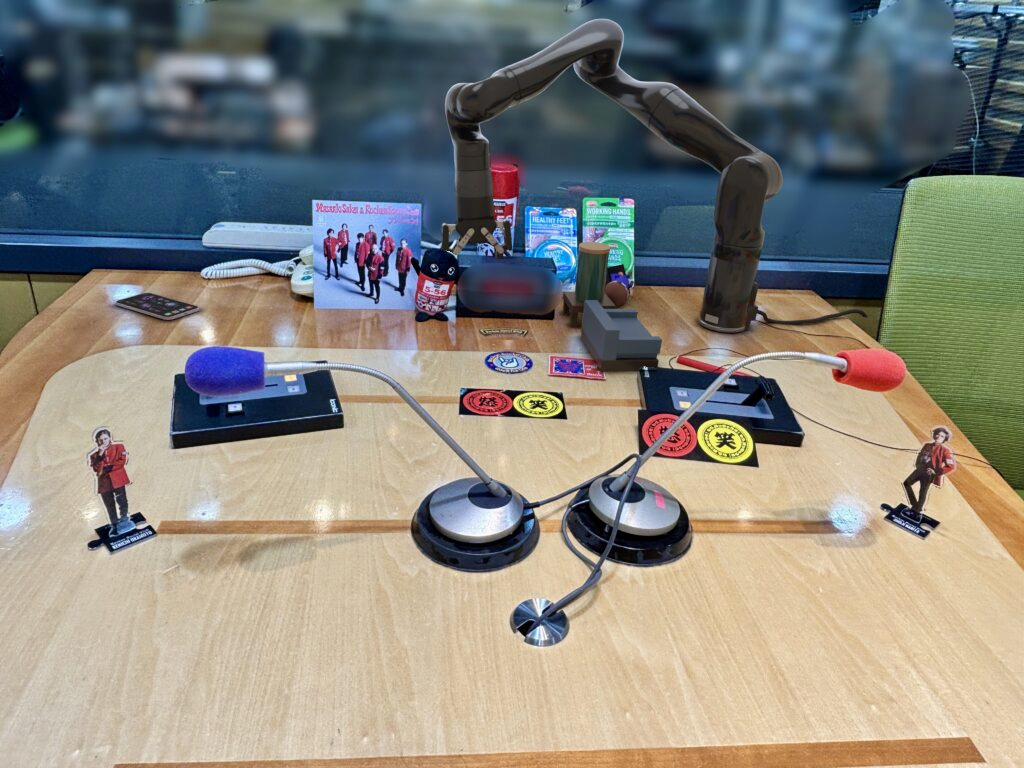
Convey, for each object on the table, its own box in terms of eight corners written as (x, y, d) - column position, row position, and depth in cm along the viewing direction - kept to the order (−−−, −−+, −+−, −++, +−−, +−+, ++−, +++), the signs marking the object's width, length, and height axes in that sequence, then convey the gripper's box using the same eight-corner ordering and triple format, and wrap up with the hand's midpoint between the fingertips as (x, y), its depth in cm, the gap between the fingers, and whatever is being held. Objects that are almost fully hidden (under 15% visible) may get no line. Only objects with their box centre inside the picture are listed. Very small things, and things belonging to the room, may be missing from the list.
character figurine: (634, 296, 160) (621, 318, 147) (603, 289, 161) (587, 310, 148) (642, 263, 156) (629, 282, 143) (609, 255, 158) (594, 274, 145)
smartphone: (167, 318, 130) (112, 301, 136) (168, 321, 130) (113, 304, 136) (201, 307, 136) (147, 291, 142) (202, 309, 136) (147, 294, 142)
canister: (599, 293, 145) (605, 242, 140) (607, 303, 140) (613, 250, 135) (570, 293, 144) (575, 241, 139) (577, 303, 139) (583, 249, 134)
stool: (601, 312, 148) (604, 291, 146) (612, 327, 141) (615, 305, 139) (561, 312, 147) (563, 291, 145) (570, 327, 139) (572, 305, 137)
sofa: (631, 337, 136) (636, 300, 133) (657, 370, 123) (663, 330, 120) (580, 337, 135) (584, 299, 131) (600, 371, 121) (605, 330, 118)
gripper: (440, 197, 137) (446, 280, 144) (513, 193, 139) (515, 274, 146) (436, 191, 144) (441, 270, 150) (505, 187, 146) (508, 265, 153)
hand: (478, 272), depth 148 cm, fingers open, 8 cm apart
